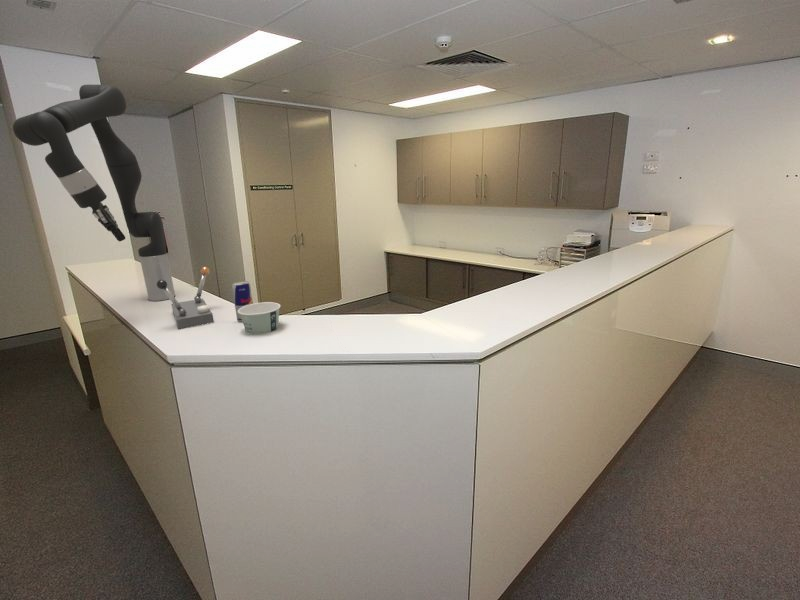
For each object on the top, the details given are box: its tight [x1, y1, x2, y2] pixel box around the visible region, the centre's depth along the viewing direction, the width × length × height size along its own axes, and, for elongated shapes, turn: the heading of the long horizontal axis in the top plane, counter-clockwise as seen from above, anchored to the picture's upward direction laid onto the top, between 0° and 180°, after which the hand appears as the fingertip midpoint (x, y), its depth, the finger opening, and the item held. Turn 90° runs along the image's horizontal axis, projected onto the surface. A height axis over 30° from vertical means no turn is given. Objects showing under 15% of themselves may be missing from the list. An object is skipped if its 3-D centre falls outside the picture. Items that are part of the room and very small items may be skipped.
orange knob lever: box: [193, 266, 211, 303], centre depth 140 cm, size 3×3×13 cm
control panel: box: [171, 298, 215, 330], centre depth 135 cm, size 22×10×3 cm, turn 32°
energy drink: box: [231, 280, 254, 323], centre depth 129 cm, size 5×5×12 cm
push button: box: [197, 304, 210, 313], centre depth 130 cm, size 3×3×2 cm
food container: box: [238, 301, 281, 335], centre depth 121 cm, size 12×12×6 cm
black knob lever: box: [156, 280, 186, 316], centre depth 124 cm, size 3×3×13 cm
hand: (122, 239), depth 127 cm, fingers closed
